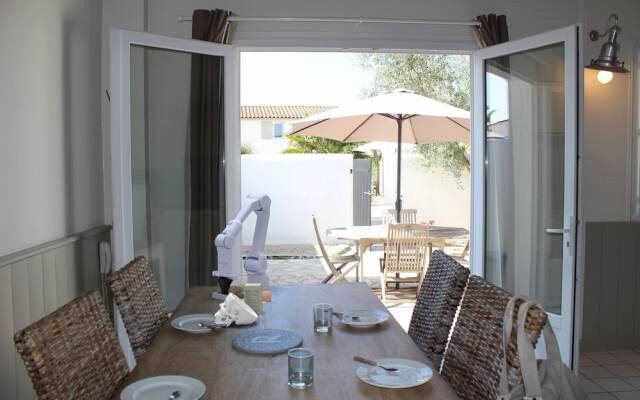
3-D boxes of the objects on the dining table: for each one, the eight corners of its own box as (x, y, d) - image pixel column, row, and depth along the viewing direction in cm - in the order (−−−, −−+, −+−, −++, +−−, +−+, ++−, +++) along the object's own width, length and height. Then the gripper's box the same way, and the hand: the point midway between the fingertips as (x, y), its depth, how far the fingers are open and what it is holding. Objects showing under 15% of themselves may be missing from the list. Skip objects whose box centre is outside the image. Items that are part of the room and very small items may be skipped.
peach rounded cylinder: (266, 299, 248) (266, 289, 248) (273, 301, 245) (273, 291, 245) (259, 301, 245) (259, 291, 245) (266, 302, 242) (266, 292, 242)
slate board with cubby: (240, 295, 263) (240, 287, 262) (277, 304, 246) (277, 295, 246) (212, 301, 252) (212, 292, 252) (249, 310, 235) (249, 301, 235)
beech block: (240, 293, 259) (240, 284, 259) (247, 294, 257) (247, 285, 257) (234, 295, 256) (234, 286, 256) (242, 296, 254) (242, 286, 254)
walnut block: (235, 297, 251) (235, 288, 251) (242, 299, 248) (242, 289, 248) (228, 299, 248) (228, 289, 248) (234, 300, 245) (234, 291, 245)
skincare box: (263, 315, 228) (262, 283, 227) (260, 318, 224) (260, 285, 223) (246, 314, 229) (246, 282, 228) (243, 317, 224) (243, 285, 224)
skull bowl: (210, 317, 220) (228, 288, 220) (242, 336, 221) (260, 308, 221) (207, 324, 209) (226, 294, 209) (242, 344, 211) (261, 315, 211)
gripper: (206, 261, 254) (206, 293, 255) (228, 265, 244) (228, 299, 245) (220, 259, 259) (220, 291, 260) (241, 263, 249) (241, 296, 250)
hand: (225, 294), depth 253 cm, fingers closed
